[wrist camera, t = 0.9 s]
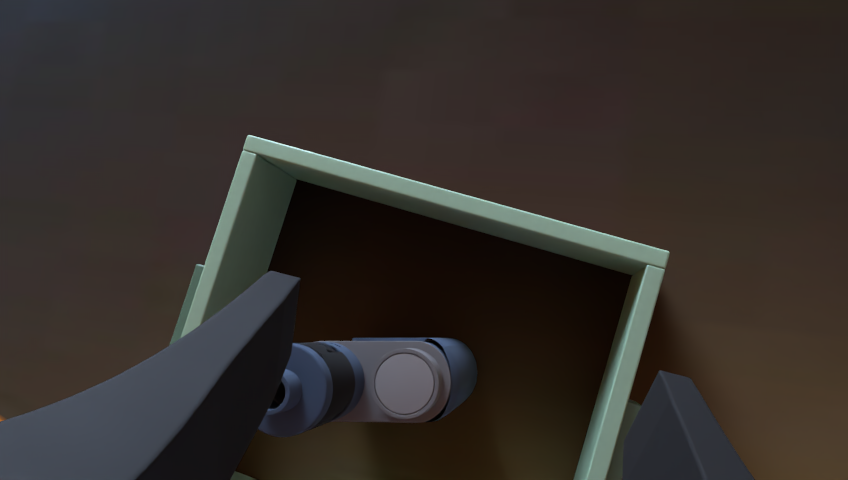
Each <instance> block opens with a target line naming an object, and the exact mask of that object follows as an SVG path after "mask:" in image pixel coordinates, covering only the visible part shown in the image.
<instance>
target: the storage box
mask: <svg viewBox="0 0 848 480" xmlns="http://www.w3.org/2000/svg"><path fill="white" fill-rule="evenodd" d="M243 150H244V151H242V154H241V157H240V160H239V163H238V166H237V169H236V172H235V175H234V178H233V181H232V184H231V187H230V190H229V193H228V196H227V199H226V202H225V205H224V208H223V211H222V214H221V217H220V220H219V223H218V226H217V229H216V232H215V235H214V238H213V241H212V244H211V247H210V250H209V254H208V257H207V260H206V263H205V266H204V265H200V264H197V265H196V267H195V270H194V273H193V276H192V279H191V282H190V285H189V288H188V291H187V294H186V297H185V300H184V304H183V307H182V310H181V313H180V316H179V319H178V322H177V325H176V328H175V331H174V334H173V337H172V340H171V343H170V345H171V344H173V343H174V342H176V341H177V340H179V339H180V338H182V337H183V336H185V335H186V334H188V333H189V332H191V331H192V330H194V329H195V328H197V327H198V326H200V325H201V324H202V323H204V322H205V321H206V320H208V319H209V318H210V317H212V316H213V315H214V314H216V313H217V312H218V311H220V310H221V309H223V308H224V307H225V306H226V305H228V304H229V303H230V302H231V301H233V300H234V299H235V298H237V297H238V296H239V295H240V294H242V293H243V292H244V291H245V290H246V289H248V288H249V287H250V286H251V285H252V284H254V283H255V282H256V281H257V280H258V279H259V278H261V277H262V276H263V275H264V274H265V273H267V271H268V268H269V265H270V262H271V259H272V256H273V252H274V249H275V246H276V243H277V240H278V237H279V234H280V231H281V228H282V225H283V222H284V219H285V215H286V212H287V209H288V206H289V203H290V200H291V197H292V194H293V191H294V188H295V185H296V182H297V180H296V179H298V180H301V181H305V182H308V183H312V184H315V185H319V186H322V187H326V188H329V189H333V190H336V191H340V192H343V193H347V194H350V195H354V196H357V197H361V198H364V199H368V200H371V201H375V202H378V203H382V204H385V205H389V206H392V207H396V208H399V209H403V210H406V211H410V212H413V213H417V214H420V215H424V216H427V217H430V218H434V219H437V220H441V221H444V222H448V223H451V224H455V225H458V226H462V227H465V228H469V229H472V230H476V231H479V232H483V233H486V234H490V235H493V236H497V237H500V238H504V239H507V240H511V241H514V242H518V243H521V244H525V245H528V246H532V247H535V248H539V249H542V250H546V251H549V252H553V253H556V254H560V255H563V256H567V257H570V258H574V259H577V260H581V261H584V262H588V263H591V264H595V265H598V266H602V267H605V268H608V269H612V270H615V271H619V272H622V273H626V274H629V275H633V276H632V277H631V280H630V284H629V287H628V291H627V294H626V298H625V301H624V305H623V308H622V312H621V315H620V319H619V322H618V326H617V329H616V333H615V336H614V340H613V343H612V347H611V350H610V354H609V357H608V361H607V364H606V368H605V371H604V375H603V378H602V382H601V385H600V389H599V392H598V396H597V399H596V403H595V406H594V410H593V413H592V416H591V420H590V423H589V427H588V430H587V434H586V437H585V441H584V444H583V448H582V451H581V455H580V458H579V462H578V465H577V469H576V472H575V476H574V479H573V480H621V479H622V476H623V447H624V440H625V438H626V436H627V434H628V432H629V430H630V428H631V426H632V424H633V422H634V420H635V418H636V416H637V414H638V412H639V410H640V408H641V405H639V404H638V403H637V402H635V401H632V400H629V397H630V393H631V389H632V386H633V382H634V379H635V375H636V372H637V368H638V365H639V361H640V358H641V354H642V351H643V347H644V344H645V340H646V336H647V333H648V329H649V326H650V322H651V319H652V315H653V312H654V308H655V305H656V301H657V298H658V294H659V290H660V287H661V283H662V280H663V276H664V273H665V270H664V269H665V268H666V266H667V262H668V259H669V255H670V252H668V251H665V250H662V249H658V248H655V247H651V246H647V245H644V244H640V243H637V242H633V241H629V240H626V239H622V238H619V237H615V236H611V235H608V234H604V233H601V232H597V231H593V230H590V229H586V228H583V227H579V226H575V225H572V224H568V223H565V222H561V221H557V220H554V219H550V218H547V217H543V216H540V215H536V214H532V213H529V212H525V211H522V210H518V209H514V208H511V207H507V206H504V205H500V204H496V203H493V202H489V201H486V200H482V199H478V198H475V197H471V196H468V195H464V194H460V193H457V192H453V191H450V190H446V189H442V188H439V187H435V186H432V185H428V184H424V183H421V182H417V181H414V180H410V179H406V178H403V177H399V176H396V175H392V174H388V173H385V172H381V171H378V170H374V169H370V168H367V167H363V166H360V165H356V164H352V163H349V162H345V161H342V160H338V159H334V158H331V157H327V156H324V155H320V154H316V153H313V152H309V151H306V150H302V149H298V148H295V147H291V146H288V145H284V144H280V143H277V142H273V141H270V140H266V139H262V138H259V137H255V136H252V135H248V136H247V139H246V142H245V145H244V148H243ZM230 480H257V479H255V478H252V477H249V476H247V475H244V474H241V473H239V472H236V471H235V472H234V474H233V475H232V477H231V479H230Z"/></svg>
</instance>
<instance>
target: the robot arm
mask: <svg viewBox="0 0 848 480" xmlns="http://www.w3.org/2000/svg"><path fill="white" fill-rule="evenodd" d="M300 279H301V278H298V277H294V276H290V275H286V274H282V273H278V272H274V271H269V272H267V273H265V274H264V275H263V276H262V277H261V278H259V279H258V280H257V281H256V282H255V283H254V284H252V285H251V286H250V287H249V288H248V289H246V290H245V291H244V292H243V293H242V294H240V295H239V296H238V297H237V298H235V299H234V300H233V301H231V302H230V303H229V304H228V305H226V306H225V307H224V308H223V309H221V310H220V311H218V312H217V313H216V314H214V315H213V316H212V317H210V318H209V319H208V320H206V321H205V322H204V323H202V324H201V325H200V326H198V327H197V328H195V329H194V330H192V331H191V332H189V333H188V334H186V335H185V336H183V337H182V338H180V339H179V340H177V341H176V342H174V343H173V344H171V345H170V346H168V347H167V348H165V349H163V350H162V351H160V352H158V353H157V354H155V355H153V356H152V357H150V358H148V359H147V360H145V361H143V362H141V363H140V364H138V365H136V366H134V367H132V368H130V369H129V370H127V371H125V372H123V373H121V374H119V375H117V376H115V377H113V378H111V379H109V380H107V381H105V382H103V383H100V384H98V385H96V386H94V387H92V388H90V389H87V390H85V391H83V392H81V393H78V394H76V395H74V396H72V397H69V398H67V399H64V400H61V401H59V402H56V403H54V404H51V405H48V406H46V407H43V408H40V409H37V410H34V411H32V412H29V413H26V414H23V415H20V416H17V417H14V418H11V419H8V420H4V421H1V422H0V480H230V479H231V477H232V475H233V474H234V472H235V470H236V468H237V466H238V464H239V462H240V461H241V459H242V457H243V455H244V453H245V451H246V450H247V448H248V446H249V444H250V442H251V440H252V438H253V437H254V435H255V433H256V431H257V429H258V427H259V426H260V424H261V422H262V420H263V418H264V416H265V414H266V412H267V411H268V409H269V407H270V405H271V403H272V401H273V399H274V397H275V395H276V392H277V390H278V387H279V385H280V382H281V380H282V377H283V374H284V372H285V369H286V366H287V364H288V361H289V359H290V356H291V351H292V343H293V335H294V327H295V319H296V311H297V303H298V295H299V287H300ZM622 480H755V479H754V478H753V476H752V475H751V473H750V472H749V471H748V469H747V468H746V466H745V465H744V463H743V462H742V460H741V459H740V457H739V455H738V454H737V452H736V451H735V449H734V448H733V446H732V445H731V443H730V441H729V440H728V438H727V437H726V435H725V434H724V432H723V430H722V429H721V427H720V425H719V424H718V422H717V421H716V419H715V417H714V416H713V414H712V412H711V411H710V409H709V407H708V406H707V404H706V402H705V401H704V399H703V398H702V396H701V394H700V393H699V391H698V389H697V388H696V386H695V385H694V383H693V381H692V380H691V378H688V377H684V376H680V375H676V374H672V373H668V372H664V371H661V370H659V372H658V374H657V376H656V378H655V380H654V382H653V384H652V386H651V388H650V390H649V392H648V394H647V396H646V398H645V400H644V402H643V404H642V406H641V408H640V410H639V412H638V414H637V416H636V418H635V420H634V422H633V424H632V426H631V428H630V430H629V432H628V434H627V436H626V438H625V440H624V447H623V476H622Z"/></svg>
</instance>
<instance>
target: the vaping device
mask: <svg viewBox="0 0 848 480" xmlns="http://www.w3.org/2000/svg"><path fill="white" fill-rule="evenodd" d="M426 339H427V338H352V341H316V342H308V343H292V351H291V356H290V359H289V361H288V364H287V366H286V369H285V372H284V374H283V377H282V380H281V382H280V385H279V387H278V390H277V392H276V395H275V397H274V399H273V401H272V403H271V405H270V407H269V409H268V411H267V412H266V414H265V416H264V418H263V420H262V422H261V424H260V426H259V427H258V429H259V430H260V431H262V432H264V433H266V434H268V435H271V436H275V437H290V436H294V435H298V434H300V433H303V432H305V431H308V430H310V429H313V428H316V427H318V426H321V425H323V424H326V423H328V422H331V421H342V422H398V423H421V422H433V421H438V420H440V419H441V418H443V417H444V416H446V415H448V414H449V413H450V412H451V411H453V410H454V409H455V408H457V407H458V406H459V405H460V404H462V403H463V402H464V401H465V400H466V399H467V398H468V397H469V396H470V395H471V393H472V392H473V389H474V387H475V385H476V381H477V365H476V360H475V358H474V355H473V353H472V351H471V350H470V349H469V348H468V347H467V345H466V344H464V343H463V342H461V341H460V340H458V339H453V338H430V339H433V340H435V341H425V340H426ZM318 424H319V425H318Z"/></svg>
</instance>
